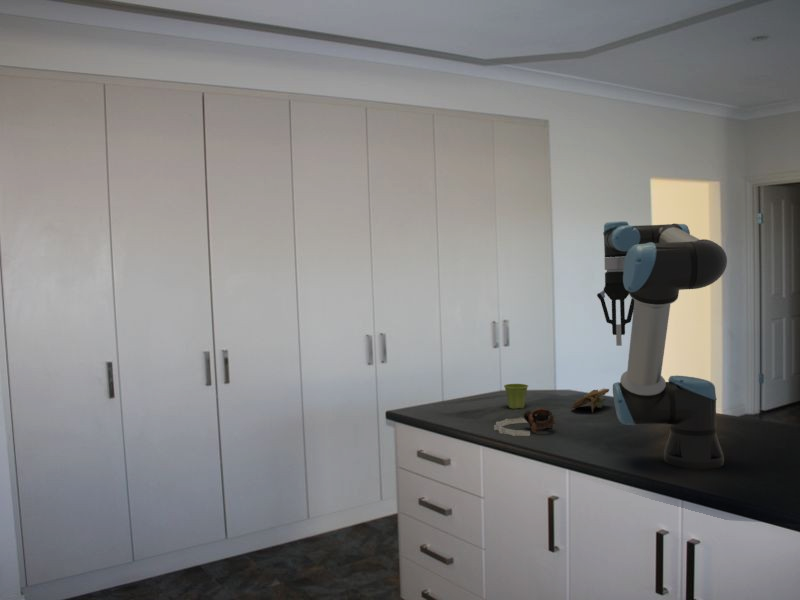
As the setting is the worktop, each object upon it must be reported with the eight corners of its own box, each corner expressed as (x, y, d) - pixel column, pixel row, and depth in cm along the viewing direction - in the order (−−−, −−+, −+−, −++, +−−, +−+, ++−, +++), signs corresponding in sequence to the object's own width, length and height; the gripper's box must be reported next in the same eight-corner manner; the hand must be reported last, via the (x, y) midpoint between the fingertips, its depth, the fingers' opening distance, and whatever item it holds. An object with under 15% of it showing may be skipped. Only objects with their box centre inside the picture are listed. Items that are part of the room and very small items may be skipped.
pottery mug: (561, 429, 227) (560, 411, 223) (547, 446, 222) (545, 428, 217) (531, 417, 235) (528, 399, 231) (516, 434, 229) (513, 416, 225)
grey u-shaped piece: (529, 436, 219) (529, 432, 219) (490, 435, 223) (490, 430, 223) (535, 421, 239) (535, 417, 239) (499, 420, 243) (499, 416, 242)
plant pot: (511, 404, 271) (510, 382, 270) (532, 406, 265) (532, 384, 265) (500, 408, 263) (499, 386, 263) (522, 410, 258) (521, 388, 257)
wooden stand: (584, 420, 262) (577, 401, 265) (619, 408, 256) (611, 389, 259) (570, 419, 247) (562, 399, 250) (607, 405, 241) (599, 385, 244)
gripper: (638, 269, 214) (640, 343, 215) (595, 271, 218) (597, 343, 219) (639, 270, 207) (641, 346, 208) (595, 271, 211) (597, 346, 212)
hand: (619, 345), depth 214 cm, fingers closed
